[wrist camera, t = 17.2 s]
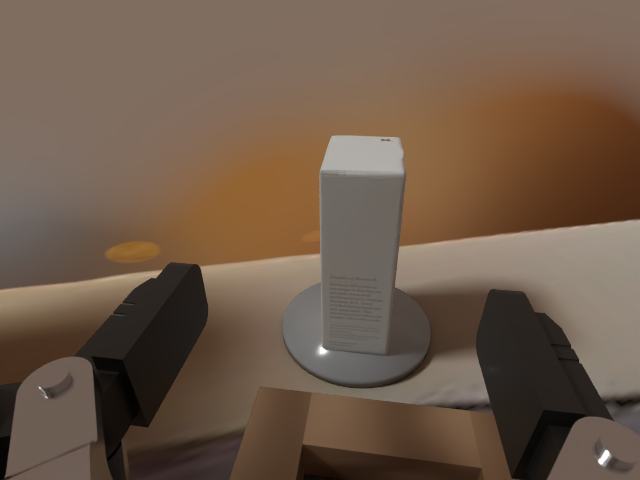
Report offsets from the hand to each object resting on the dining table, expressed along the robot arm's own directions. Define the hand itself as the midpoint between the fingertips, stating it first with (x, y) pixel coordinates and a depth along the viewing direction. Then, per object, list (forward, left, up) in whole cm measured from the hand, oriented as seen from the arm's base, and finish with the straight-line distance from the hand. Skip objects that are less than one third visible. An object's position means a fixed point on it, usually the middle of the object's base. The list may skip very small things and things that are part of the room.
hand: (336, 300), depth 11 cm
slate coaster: (0, +12, -12) cm, 17 cm away
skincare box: (0, +12, -11) cm, 16 cm away
